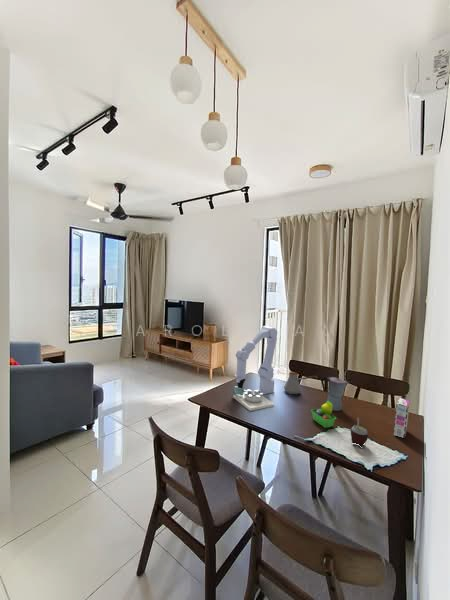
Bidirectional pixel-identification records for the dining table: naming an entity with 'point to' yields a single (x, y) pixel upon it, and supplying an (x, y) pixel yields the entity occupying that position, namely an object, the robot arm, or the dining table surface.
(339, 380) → the moka pot
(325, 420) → the fruit basket
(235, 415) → the dining table surface
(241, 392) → the teal elongated tool
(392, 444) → the dining table surface
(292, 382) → the coffee pot
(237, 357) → the robot arm
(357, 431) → the mate gourd
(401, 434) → the candy bar box
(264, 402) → the base plate
